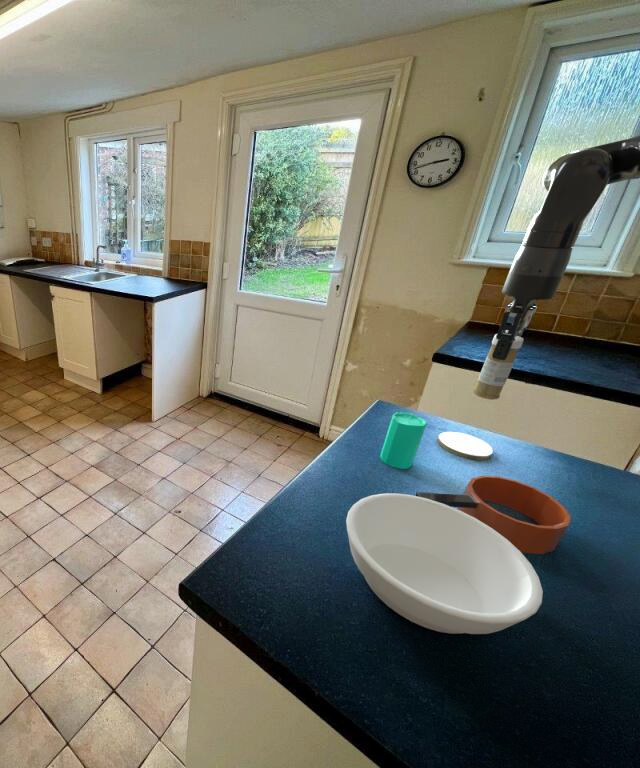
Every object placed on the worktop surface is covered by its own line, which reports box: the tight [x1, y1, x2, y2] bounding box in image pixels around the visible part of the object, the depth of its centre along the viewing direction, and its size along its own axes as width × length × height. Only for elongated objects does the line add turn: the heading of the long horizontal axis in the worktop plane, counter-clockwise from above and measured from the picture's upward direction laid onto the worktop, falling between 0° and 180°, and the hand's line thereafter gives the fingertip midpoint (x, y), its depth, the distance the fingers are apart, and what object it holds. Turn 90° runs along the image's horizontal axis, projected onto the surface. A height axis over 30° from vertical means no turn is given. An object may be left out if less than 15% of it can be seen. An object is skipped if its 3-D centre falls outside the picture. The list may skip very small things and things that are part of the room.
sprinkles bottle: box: [472, 333, 524, 401], centre depth 86 cm, size 5×5×14 cm
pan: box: [414, 474, 572, 555], centre depth 72 cm, size 22×13×6 cm, turn 84°
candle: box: [379, 411, 427, 470], centre depth 88 cm, size 6×6×12 cm
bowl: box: [345, 492, 544, 635], centre depth 60 cm, size 22×22×8 cm
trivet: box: [437, 431, 494, 461], centre depth 95 cm, size 10×10×1 cm
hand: (502, 355), depth 85 cm, fingers closed on sprinkles bottle, 4 cm apart
